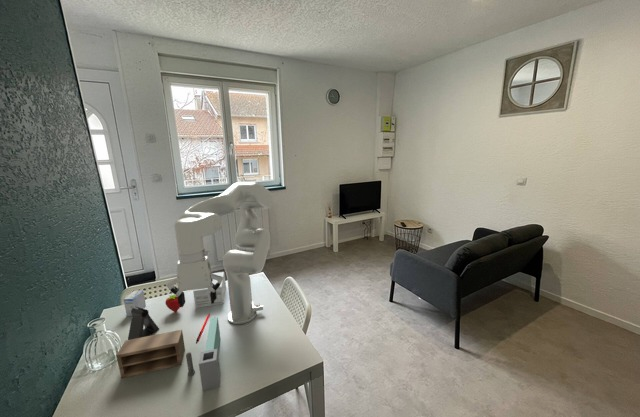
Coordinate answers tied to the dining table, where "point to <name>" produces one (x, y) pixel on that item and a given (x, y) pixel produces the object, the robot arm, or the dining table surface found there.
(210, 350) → the teal desk organizer
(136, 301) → the medicine box
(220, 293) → the supplement box
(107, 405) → the dining table surface
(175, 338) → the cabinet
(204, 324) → the pen
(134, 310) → the phone stand
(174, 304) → the strawberry
